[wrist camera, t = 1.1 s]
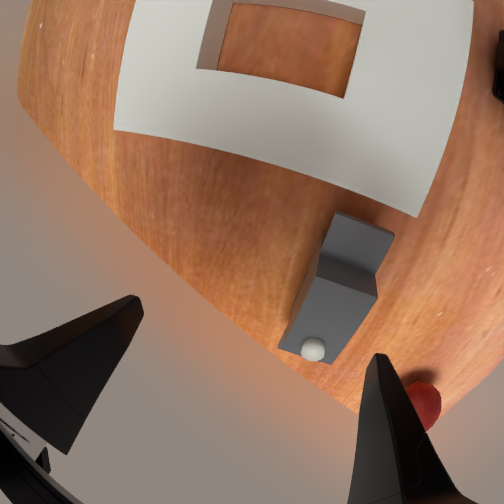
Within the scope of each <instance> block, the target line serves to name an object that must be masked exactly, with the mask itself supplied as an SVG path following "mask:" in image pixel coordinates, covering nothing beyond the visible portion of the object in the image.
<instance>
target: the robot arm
mask: <svg viewBox="0 0 504 504" xmlns="http://www.w3.org/2000/svg"><path fill="white" fill-rule="evenodd" d="M495 69H496V74H495V80H494V86H493V94H494V96H495V97H496V98H497V99H498V100H500V101H501V102H502V103H503V104H504V30H502V31H500V38H499V43H498V46H497V56H496V64H495ZM498 90H499V91H500V95H499V94H498ZM143 315H144V311H143V307H142V304H141V300H140V298H139V297H138V296H135V295H128V296H125V297H123V298H121V299H119V300H116V301H114V302H112V303H110V304H107V305H105V306H103V307H101V308H98V309H96V310H94V311H92V312H89V313H87V314H85V315H83V316H81V317H78V318H76V319H74V320H72V321H70V322H67V323H65V324H63V325H61V326H59V327H56V328H54V329H52V330H49V331H47V332H45V333H42V334H40V335H37V336H35V337H32V338H29V339H26V340H24V341H21V342H18V343H15V344H12V345H0V489H1V490H2V491H3V493H4V494H5V495H6V496H7V497H8V499H9V500H10V501H11V502H12V503H13V504H83V503H82V502H81V501H79V500H78V499H77V498H75V497H74V496H73V495H71V494H70V493H69V492H68V491H67V490H65V489H64V488H63V487H62V486H61V485H60V484H58V483H57V482H56V481H55V480H54V479H53V478H51V477H50V476H49V475H48V474H49V473H50V471H51V469H50V463H49V457H48V450H47V448H46V447H45V445H46V444H47V443H49V444H51V445H52V446H53V447H55V448H56V449H57V450H59V451H60V452H62V453H63V454H65V455H67V454H68V452H69V450H70V449H71V447H72V445H73V443H74V441H75V439H76V437H77V435H78V433H79V431H80V429H81V428H82V426H83V424H84V422H85V420H86V418H87V416H88V415H89V413H90V411H91V409H92V407H93V406H94V404H95V402H96V400H97V399H98V397H99V395H100V393H101V392H102V390H103V388H104V386H105V385H106V383H107V381H108V380H109V378H110V376H111V374H112V373H113V371H114V370H115V368H116V366H117V365H118V363H119V361H120V360H121V358H122V356H123V355H124V353H125V351H126V350H127V348H128V346H129V344H130V343H131V341H132V338H133V336H134V334H135V332H136V330H137V328H138V326H139V324H140V322H141V320H142V318H143ZM425 432H426V430H425V428H424V426H423V424H422V422H421V420H420V418H419V416H418V414H417V412H416V409H415V407H414V405H413V403H412V401H411V399H410V398H409V396H408V394H407V392H406V390H405V388H404V386H403V384H402V382H401V380H400V378H399V376H398V375H397V373H396V371H395V369H394V367H393V365H392V363H391V362H390V360H389V358H388V356H387V355H386V354H381V353H376V354H374V356H373V358H372V359H371V361H370V363H369V365H368V367H367V369H366V374H365V381H364V387H363V393H362V399H361V404H360V411H359V423H358V434H357V445H356V452H355V460H354V468H353V474H352V480H351V486H350V492H349V498H348V503H347V504H478V503H476V502H474V501H472V500H470V499H468V498H467V497H465V496H464V495H462V494H461V493H460V492H459V491H458V490H457V488H456V487H455V485H454V483H453V482H452V480H451V478H450V476H449V475H448V473H447V471H446V469H445V467H444V466H443V464H442V463H441V460H440V459H439V457H438V455H437V453H436V452H435V449H434V447H433V445H432V443H431V441H430V439H429V437H428V434H427V433H425Z"/></svg>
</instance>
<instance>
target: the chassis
mask: <svg viewBox="0 0 504 504" xmlns="http://www.w3.org/2000/svg"><path fill="white" fill-rule="evenodd" d="M233 3H247V4H260V5H270V6H278V7H285V8H292V9H298V10H303V11H308V12H313V13H318V14H322V15H327V16H331V17H335V18H339V19H342V20H346V21H349V22H353V23H356V24H359V25H362V28H361V32H360V36H359V41H358V45H357V49H356V53H355V57H354V61H353V65H352V68H351V72H350V76H349V80H348V84H347V87H346V91H345V95H344V98H343V99H342V98H339V97H336V96H333V95H330V94H327V93H323V92H320V91H317V90H313V89H309V88H306V87H302V86H298V85H294V84H290V83H286V82H281V81H277V80H272V79H267V78H262V77H256V76H251V75H245V74H238V73H232V72H224V71H216V69H217V64H218V60H219V55H220V51H221V47H222V43H223V39H224V35H225V31H226V27H227V23H228V19H229V16H230V12H231V8H232V5H233ZM473 9H474V2H473V1H471V0H136V3H135V6H134V10H133V13H132V17H131V21H130V25H129V29H128V33H127V38H126V42H125V47H124V52H123V58H122V63H121V69H120V75H119V82H118V89H117V97H116V106H115V117H114V130H121V131H127V132H134V133H140V134H146V135H152V136H157V137H163V138H168V139H173V140H178V141H183V142H188V143H192V144H197V145H201V146H206V147H210V148H214V149H218V150H222V151H226V152H230V153H234V154H238V155H242V156H245V157H249V158H253V159H256V160H260V161H263V162H267V163H270V164H274V165H277V166H280V167H284V168H287V169H290V170H293V171H296V172H299V173H302V174H305V175H308V176H311V177H314V178H317V179H320V180H323V181H326V182H329V183H332V184H334V185H337V186H340V187H343V188H345V189H348V190H351V191H353V192H356V193H358V194H361V195H364V196H366V197H369V198H371V199H374V200H376V201H378V202H381V203H383V204H386V205H388V206H390V207H393V208H395V209H397V210H400V211H402V212H404V213H406V214H409V215H411V216H413V217H415V218H417V216H418V214H419V212H420V210H421V208H422V205H423V203H424V201H425V199H426V196H427V194H428V192H429V189H430V187H431V184H432V182H433V179H434V177H435V174H436V172H437V169H438V167H439V164H440V161H441V158H442V156H443V153H444V150H445V147H446V144H447V141H448V138H449V135H450V132H451V129H452V125H453V122H454V118H455V115H456V111H457V108H458V104H459V100H460V96H461V92H462V87H463V83H464V78H465V73H466V68H467V62H468V56H469V50H470V42H471V34H472V24H473Z"/></svg>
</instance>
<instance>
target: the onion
mask: <svg viewBox="0 0 504 504" xmlns="http://www.w3.org/2000/svg"><path fill="white" fill-rule="evenodd" d="M405 390H406V392H407V394H408V396H409V398H410V399H411V401H412V403H413V405H414V407H415V409H416V412H417V414H418V416H419V418H420V420H421V422H422V424H423V426H424V428H425V430H426V431H427V430H429V429H430V428H431V427H432V426H433V424H434V423H435V422H436V420H437V419H438V417H439V415H440V412H441V396H440V393H439V391H438V390H437V389H436V388H435V387H434V386H433V385H430V384H427V383H423V382H421V381H418V380H416V381H414V382H412V383H411V384H410V385H409V386H408V387H407V388H406V389H405Z"/></svg>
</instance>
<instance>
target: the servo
mask: <svg viewBox="0 0 504 504" xmlns="http://www.w3.org/2000/svg"><path fill="white" fill-rule="evenodd" d="M394 238H395V235H394V232H392V231H389V230H387V229H384V228H382V227H379V226H377V225H374V224H372V223H369V222H367V221H364V220H362V219H359V218H356V217H354V216H351V215H349V214H346V213H343V212H340V211H338V210H336V211H335V213H334V216H333V219H332V221H331V224H330V226H329V229H328V231H327V232H324V231H323V232H322V235H321V238H320V240H319V243H318V245H317V248H316V250H315V253H314V255H313V258H312V260H311V263H310V265H309V268H308V270H307V272H306V275H305V277H304V280H303V282H302V284H301V287H300V289H299V291H298V294H297V296H296V298H295V302H294V306H293V309H292V313H291V317H290V320H289V323H288V325H287V327H286V329H285V331H284V333H283V335H282V338H281V340H280V342H279V344H278V348H279V349H282V350H285V351H288V352H291V353H294V354H297V355H300V356H302V357H303V358H304V359H306V360H309V361H319V362H324V363H327V364H330V365H331V364H332V363H333V362H334V360H335V359H336V358H337V357H338V355H339V354H340V353H341V351H342V350H343V349H344V347H345V346H346V344H347V343H348V342H349V340H350V339H351V337H352V336H353V335H354V333H355V332H356V330H357V329H358V327H359V326H360V325H361V323H362V322H363V320H364V319H365V317H366V316H367V314H368V313H369V311H370V310H371V308H372V306H373V305H374V303H375V302H376V300H377V299H378V295H377V287H376V279H375V274H376V272H377V270H378V269H379V267H380V265H381V263H382V261H383V259H384V257H385V255H386V253H387V252H388V250H389V248H390V246H391V244H392V242H393V240H394Z"/></svg>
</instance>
